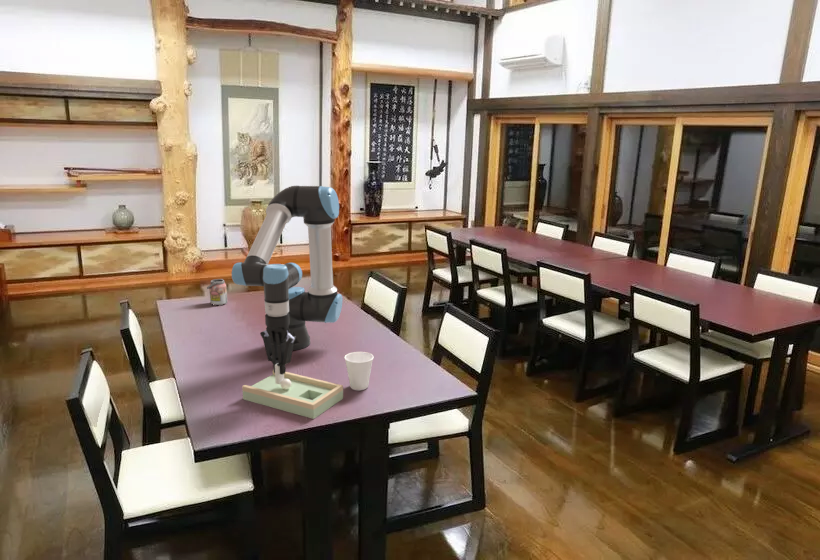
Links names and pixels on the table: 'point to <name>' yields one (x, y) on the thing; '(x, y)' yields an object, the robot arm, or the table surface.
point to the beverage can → (218, 292)
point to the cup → (359, 369)
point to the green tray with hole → (295, 394)
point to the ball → (285, 384)
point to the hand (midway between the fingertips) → (280, 382)
